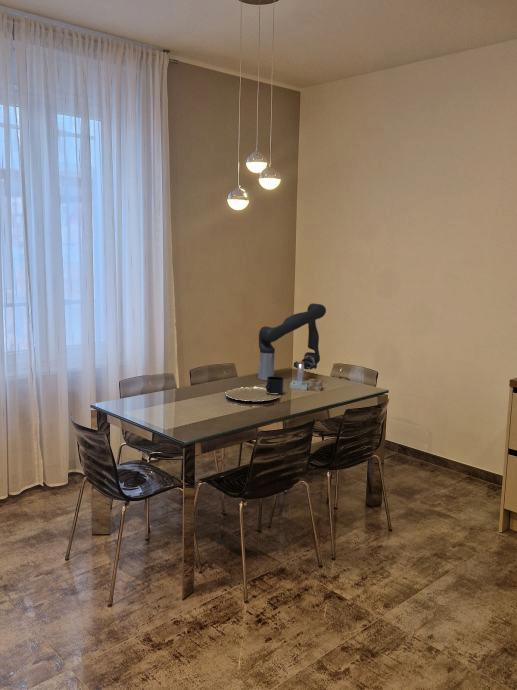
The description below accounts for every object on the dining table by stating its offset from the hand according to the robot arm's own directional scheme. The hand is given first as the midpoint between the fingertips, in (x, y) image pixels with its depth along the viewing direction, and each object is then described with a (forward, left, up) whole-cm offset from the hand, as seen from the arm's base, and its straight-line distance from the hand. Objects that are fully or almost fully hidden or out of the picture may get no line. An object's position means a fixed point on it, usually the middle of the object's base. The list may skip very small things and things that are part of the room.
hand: (303, 367), depth 384 cm
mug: (-12, -31, -10) cm, 35 cm away
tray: (0, -11, -10) cm, 15 cm away
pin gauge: (0, -11, -10) cm, 14 cm away
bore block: (+9, -11, -10) cm, 17 cm away
